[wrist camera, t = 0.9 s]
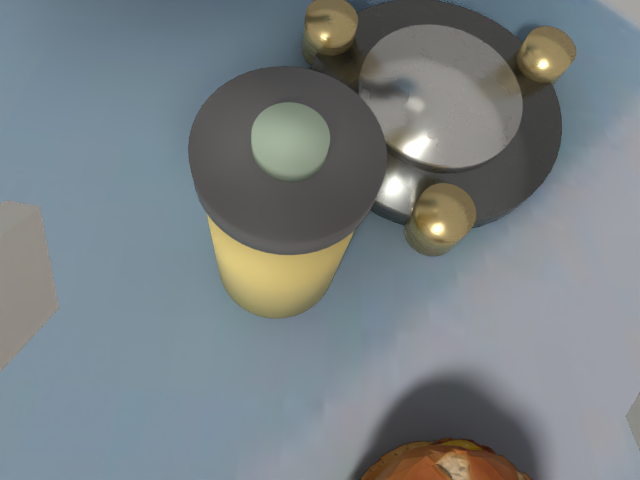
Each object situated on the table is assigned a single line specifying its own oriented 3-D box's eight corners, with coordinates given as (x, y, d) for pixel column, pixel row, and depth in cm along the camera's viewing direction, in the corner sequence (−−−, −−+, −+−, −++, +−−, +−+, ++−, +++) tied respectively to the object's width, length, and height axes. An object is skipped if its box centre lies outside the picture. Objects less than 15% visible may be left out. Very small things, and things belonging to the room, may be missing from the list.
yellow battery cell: (195, 232, 30) (154, 86, 18) (305, 189, 32) (336, 29, 20) (244, 343, 28) (235, 265, 16) (358, 291, 30) (429, 185, 18)
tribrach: (260, 50, 35) (260, 15, 32) (482, -21, 39) (500, -57, 37) (384, 281, 30) (397, 264, 28) (621, 172, 35) (653, 148, 32)
